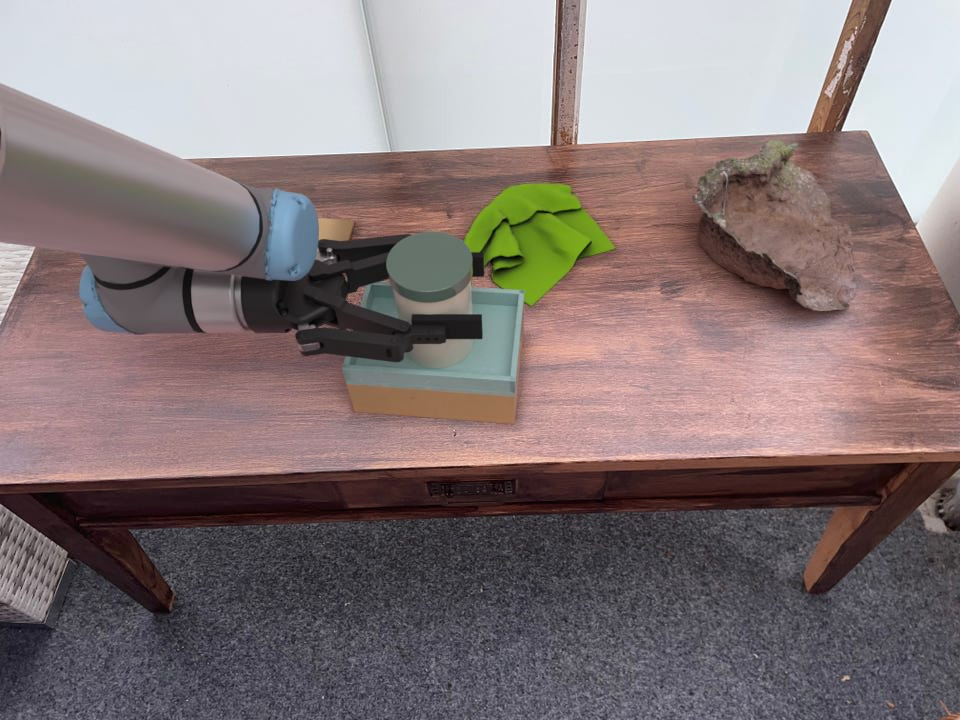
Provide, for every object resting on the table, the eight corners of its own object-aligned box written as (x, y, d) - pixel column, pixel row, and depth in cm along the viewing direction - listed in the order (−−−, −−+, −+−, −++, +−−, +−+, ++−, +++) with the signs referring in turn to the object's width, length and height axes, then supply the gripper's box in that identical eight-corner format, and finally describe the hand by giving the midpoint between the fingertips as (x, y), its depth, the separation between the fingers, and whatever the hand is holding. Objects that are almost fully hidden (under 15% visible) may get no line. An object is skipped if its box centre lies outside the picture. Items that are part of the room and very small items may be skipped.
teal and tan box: (354, 412, 77) (341, 368, 71) (376, 326, 85) (367, 280, 79) (514, 424, 76) (515, 381, 70) (523, 335, 83) (524, 289, 77)
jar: (393, 367, 74) (378, 288, 65) (407, 309, 79) (394, 228, 70) (471, 373, 73) (467, 294, 64) (480, 314, 78) (477, 233, 69)
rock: (864, 355, 84) (918, 296, 76) (679, 320, 82) (716, 256, 75) (818, 214, 100) (859, 154, 92) (664, 183, 99) (692, 120, 91)
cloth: (572, 175, 101) (574, 161, 99) (635, 283, 88) (638, 268, 86) (430, 204, 98) (429, 190, 96) (473, 320, 85) (473, 306, 83)
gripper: (280, 251, 80) (485, 250, 79) (237, 402, 68) (481, 403, 67) (262, 197, 74) (484, 196, 74) (212, 351, 62) (479, 352, 61)
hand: (482, 294), depth 70 cm, fingers closed on jar, 8 cm apart
